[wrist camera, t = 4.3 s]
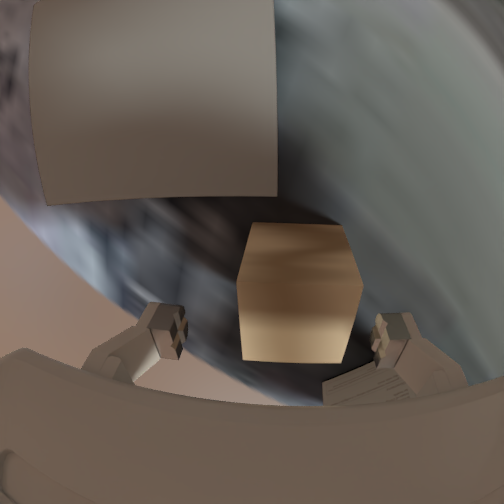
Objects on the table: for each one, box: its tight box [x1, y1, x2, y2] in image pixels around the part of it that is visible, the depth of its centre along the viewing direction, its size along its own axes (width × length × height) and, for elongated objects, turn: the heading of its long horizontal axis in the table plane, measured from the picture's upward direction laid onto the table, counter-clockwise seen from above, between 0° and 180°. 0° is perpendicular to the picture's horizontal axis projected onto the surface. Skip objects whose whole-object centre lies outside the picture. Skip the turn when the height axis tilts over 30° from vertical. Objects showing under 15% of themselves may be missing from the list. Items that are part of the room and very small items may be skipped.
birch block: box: [236, 222, 363, 363], centre depth 13 cm, size 4×4×5 cm
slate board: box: [29, 0, 278, 206], centre depth 10 cm, size 14×14×1 cm
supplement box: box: [322, 361, 416, 406], centre depth 15 cm, size 7×7×13 cm
